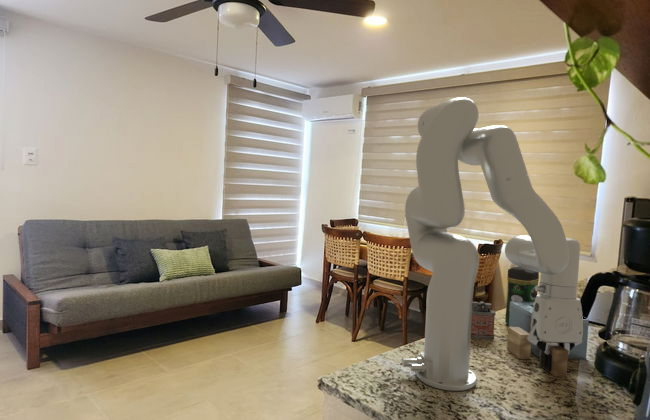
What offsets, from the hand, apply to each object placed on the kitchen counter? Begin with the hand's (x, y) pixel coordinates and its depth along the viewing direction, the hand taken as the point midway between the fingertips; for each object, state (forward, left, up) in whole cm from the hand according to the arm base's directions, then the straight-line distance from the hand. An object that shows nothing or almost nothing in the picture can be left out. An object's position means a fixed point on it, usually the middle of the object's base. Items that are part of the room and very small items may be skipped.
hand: (552, 368), depth 97 cm
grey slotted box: (+7, +15, 0) cm, 17 cm away
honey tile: (-3, +10, -1) cm, 10 cm away
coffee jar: (+10, +33, -1) cm, 35 cm away
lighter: (-8, +22, -1) cm, 23 cm away
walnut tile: (0, 0, 0) cm, 0 cm away
